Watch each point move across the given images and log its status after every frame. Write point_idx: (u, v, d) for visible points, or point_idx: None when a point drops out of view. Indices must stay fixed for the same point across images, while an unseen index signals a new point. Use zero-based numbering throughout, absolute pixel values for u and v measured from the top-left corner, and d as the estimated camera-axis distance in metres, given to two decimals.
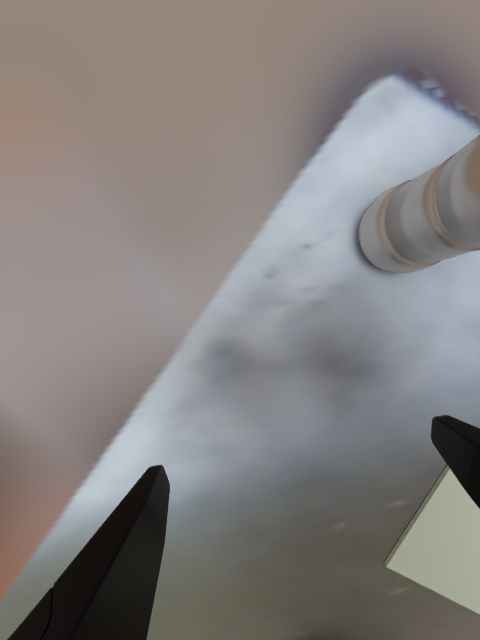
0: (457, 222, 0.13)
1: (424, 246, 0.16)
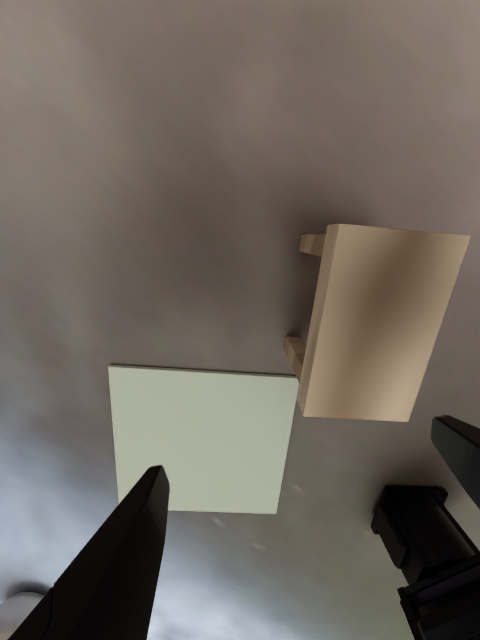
0: None
1: None
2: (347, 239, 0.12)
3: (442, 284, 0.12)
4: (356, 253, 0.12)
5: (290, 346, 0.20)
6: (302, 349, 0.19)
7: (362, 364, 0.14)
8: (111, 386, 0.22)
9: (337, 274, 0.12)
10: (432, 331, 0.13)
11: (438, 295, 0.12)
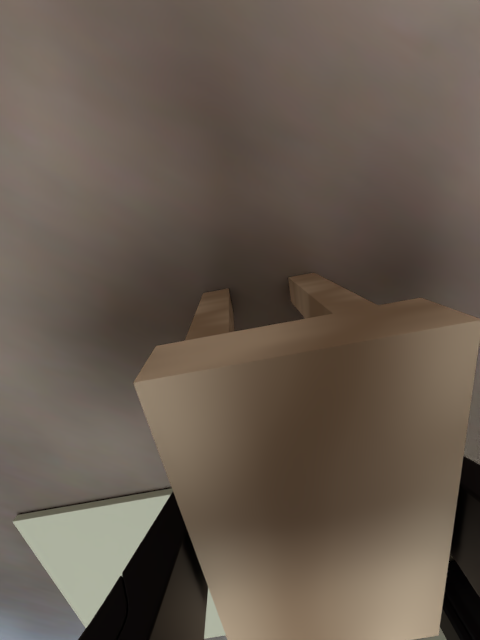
0: None
1: None
2: (170, 407, 0.05)
3: (438, 430, 0.05)
4: (206, 426, 0.05)
5: None
6: None
7: (313, 587, 0.07)
8: (28, 541, 0.17)
9: (184, 472, 0.05)
10: (442, 510, 0.06)
11: (435, 452, 0.05)
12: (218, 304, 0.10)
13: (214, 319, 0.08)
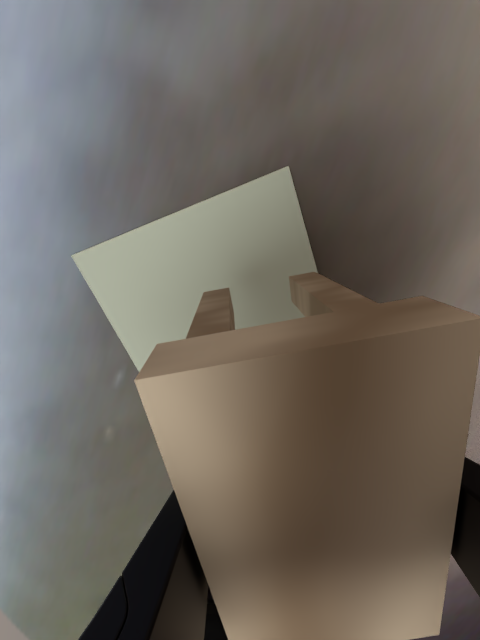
0: None
1: None
2: (171, 405, 0.05)
3: (440, 429, 0.05)
4: (207, 424, 0.05)
5: None
6: None
7: (314, 585, 0.07)
8: (262, 179, 0.17)
9: (185, 470, 0.05)
10: (443, 509, 0.06)
11: (436, 450, 0.05)
12: (219, 303, 0.10)
13: (215, 318, 0.08)
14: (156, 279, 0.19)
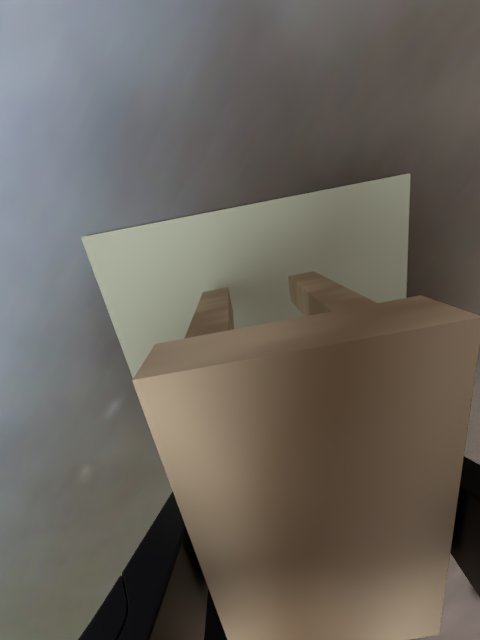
0: None
1: None
2: (169, 405, 0.05)
3: (439, 428, 0.05)
4: (205, 424, 0.05)
5: None
6: None
7: (313, 586, 0.07)
8: (371, 184, 0.12)
9: (183, 470, 0.05)
10: (442, 509, 0.06)
11: (435, 450, 0.05)
12: (218, 303, 0.10)
13: (214, 317, 0.08)
14: (194, 291, 0.14)
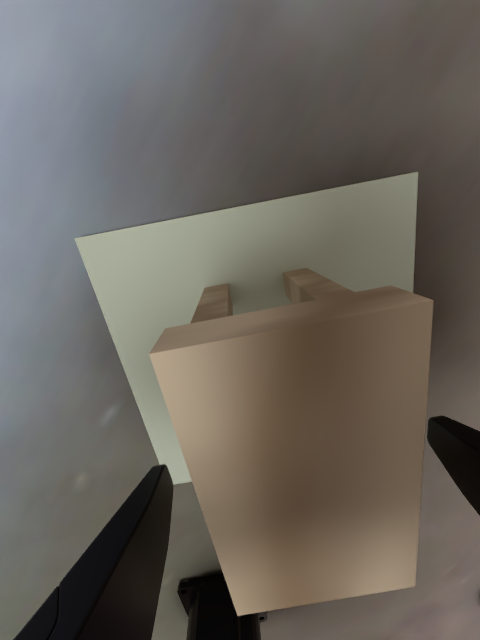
0: None
1: None
2: (179, 375, 0.06)
3: (403, 395, 0.06)
4: (209, 392, 0.06)
5: None
6: None
7: (302, 538, 0.08)
8: (377, 183, 0.12)
9: (190, 432, 0.06)
10: (411, 467, 0.07)
11: (401, 414, 0.06)
12: (218, 296, 0.11)
13: (215, 308, 0.09)
14: (193, 294, 0.13)
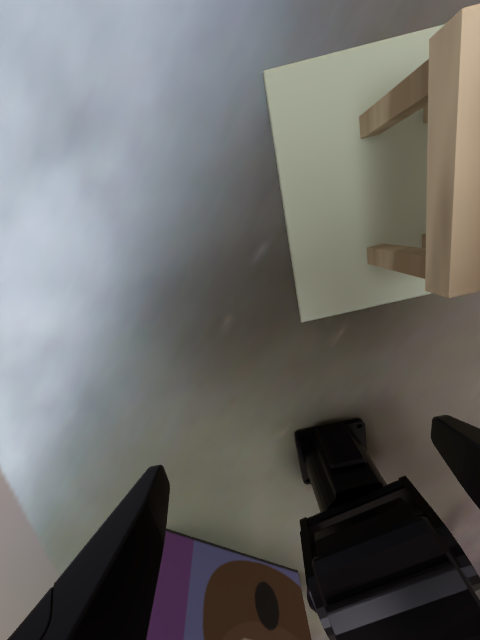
0: None
1: None
2: (476, 28, 0.09)
3: None
4: None
5: (380, 251, 0.17)
6: (398, 247, 0.16)
7: None
8: None
9: (468, 86, 0.09)
10: None
11: None
12: None
13: None
14: (349, 123, 0.16)
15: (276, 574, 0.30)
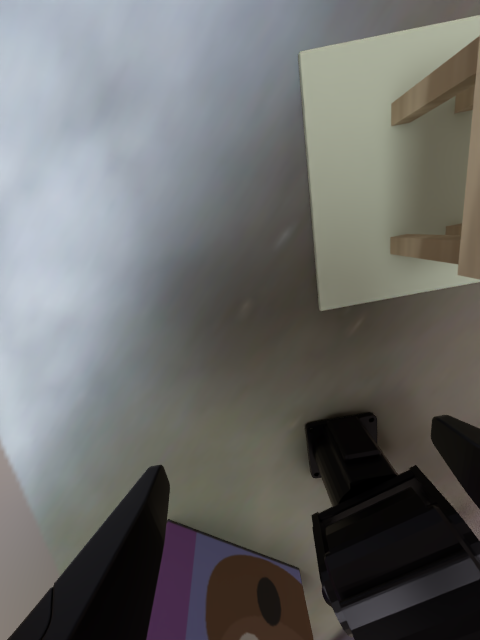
0: None
1: None
2: None
3: None
4: None
5: (406, 239, 0.17)
6: (425, 236, 0.16)
7: None
8: None
9: None
10: None
11: None
12: None
13: None
14: (381, 110, 0.16)
15: (278, 570, 0.30)
